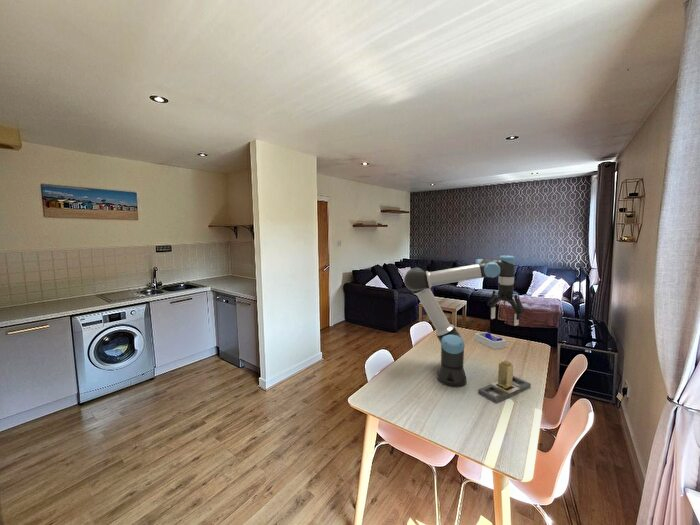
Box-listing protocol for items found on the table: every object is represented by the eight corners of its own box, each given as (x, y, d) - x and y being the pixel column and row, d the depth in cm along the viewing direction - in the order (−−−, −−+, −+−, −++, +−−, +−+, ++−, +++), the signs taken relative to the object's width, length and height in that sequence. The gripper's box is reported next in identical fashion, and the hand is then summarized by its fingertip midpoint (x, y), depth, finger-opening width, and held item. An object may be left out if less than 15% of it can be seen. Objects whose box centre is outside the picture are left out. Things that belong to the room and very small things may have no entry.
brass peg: (506, 393, 145) (507, 365, 144) (497, 389, 149) (499, 361, 148) (511, 391, 148) (513, 363, 146) (503, 386, 152) (504, 359, 150)
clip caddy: (494, 349, 198) (494, 342, 198) (474, 340, 215) (475, 333, 215) (505, 347, 201) (505, 340, 201) (485, 338, 218) (485, 331, 218)
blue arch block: (483, 341, 213) (484, 333, 212) (488, 340, 214) (489, 332, 214) (496, 347, 202) (497, 339, 201) (502, 346, 203) (502, 338, 202)
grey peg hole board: (496, 403, 137) (496, 399, 137) (478, 393, 146) (478, 389, 146) (530, 387, 151) (530, 383, 151) (511, 378, 160) (512, 374, 159)
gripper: (533, 287, 149) (531, 327, 152) (489, 279, 171) (488, 315, 174) (525, 288, 146) (522, 329, 148) (481, 281, 168) (480, 316, 170)
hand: (504, 321), depth 161 cm, fingers open, 13 cm apart
